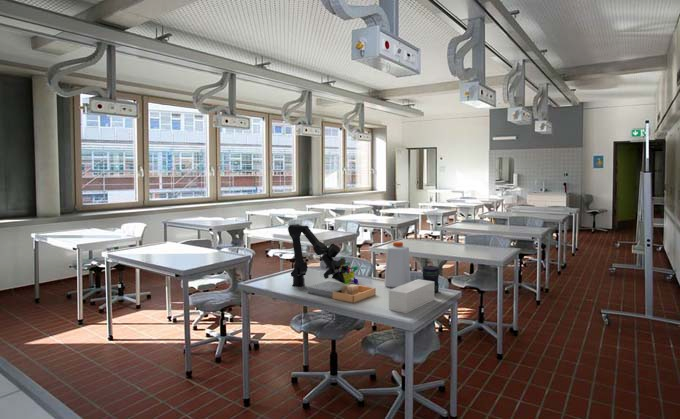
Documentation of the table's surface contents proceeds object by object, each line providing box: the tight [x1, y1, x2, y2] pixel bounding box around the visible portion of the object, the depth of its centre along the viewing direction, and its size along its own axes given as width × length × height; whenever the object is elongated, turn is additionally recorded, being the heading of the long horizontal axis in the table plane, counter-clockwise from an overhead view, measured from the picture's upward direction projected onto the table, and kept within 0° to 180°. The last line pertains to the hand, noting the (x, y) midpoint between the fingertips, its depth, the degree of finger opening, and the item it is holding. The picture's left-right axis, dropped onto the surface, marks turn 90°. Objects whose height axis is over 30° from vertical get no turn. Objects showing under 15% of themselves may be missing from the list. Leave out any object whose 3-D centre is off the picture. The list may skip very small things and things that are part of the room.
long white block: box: [388, 278, 435, 314], centre depth 257 cm, size 32×11×11 cm, turn 142°
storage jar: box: [422, 265, 440, 295], centre depth 284 cm, size 10×10×15 cm
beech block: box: [341, 282, 359, 295], centre depth 275 cm, size 6×6×8 cm
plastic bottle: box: [384, 241, 412, 289], centre depth 298 cm, size 15×15×28 cm
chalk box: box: [339, 256, 351, 279], centre depth 320 cm, size 9×9×15 cm
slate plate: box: [307, 280, 344, 299], centre depth 284 cm, size 20×20×4 cm
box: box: [332, 284, 377, 304], centre depth 273 cm, size 15×22×4 cm
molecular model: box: [343, 265, 359, 284], centre depth 304 cm, size 11×7×12 cm, turn 130°
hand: (344, 282), depth 277 cm, fingers closed
